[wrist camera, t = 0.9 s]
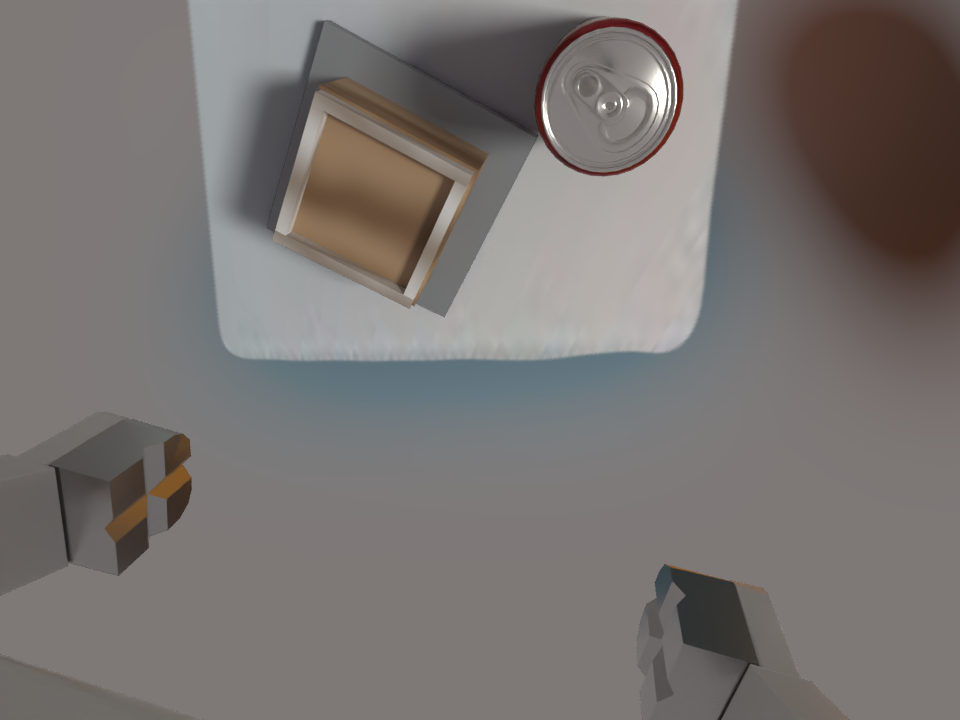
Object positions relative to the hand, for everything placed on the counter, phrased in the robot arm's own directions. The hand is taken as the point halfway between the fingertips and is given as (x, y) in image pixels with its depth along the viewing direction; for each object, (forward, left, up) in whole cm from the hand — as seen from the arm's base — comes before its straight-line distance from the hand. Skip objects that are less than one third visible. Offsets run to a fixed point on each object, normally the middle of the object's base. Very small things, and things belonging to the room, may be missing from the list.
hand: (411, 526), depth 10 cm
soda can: (-5, +2, -37) cm, 37 cm away
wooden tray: (+8, -8, -36) cm, 38 cm away
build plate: (+8, -8, -37) cm, 38 cm away
